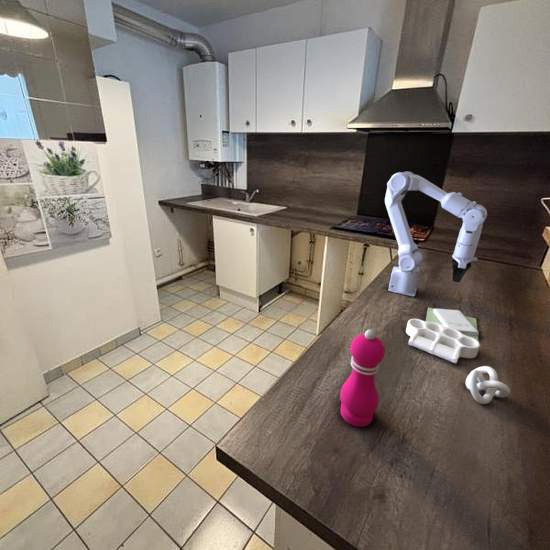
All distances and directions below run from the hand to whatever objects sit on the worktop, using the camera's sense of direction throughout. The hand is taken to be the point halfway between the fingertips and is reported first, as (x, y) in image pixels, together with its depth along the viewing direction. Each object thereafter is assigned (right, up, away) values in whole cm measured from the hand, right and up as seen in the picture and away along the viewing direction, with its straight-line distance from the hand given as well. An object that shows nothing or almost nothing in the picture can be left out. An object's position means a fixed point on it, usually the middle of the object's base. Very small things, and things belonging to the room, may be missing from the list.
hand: (455, 281), depth 100 cm
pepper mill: (-46, -26, -41) cm, 67 cm away
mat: (-7, -13, -9) cm, 17 cm away
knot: (-17, -25, -36) cm, 47 cm away
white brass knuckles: (-17, -17, -19) cm, 31 cm away
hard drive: (-6, -13, -9) cm, 17 cm away
